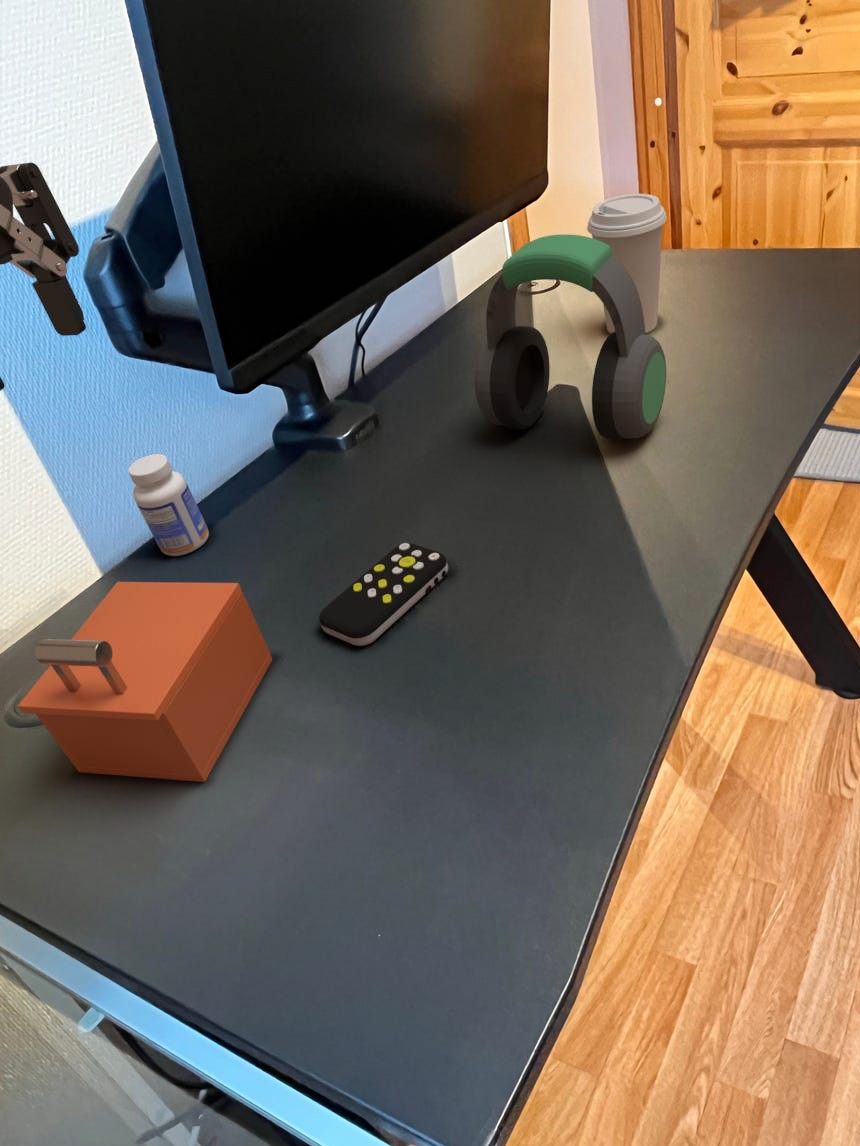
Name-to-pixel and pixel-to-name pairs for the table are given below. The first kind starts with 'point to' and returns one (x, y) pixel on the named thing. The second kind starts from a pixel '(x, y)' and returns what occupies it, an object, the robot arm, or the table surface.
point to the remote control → (383, 594)
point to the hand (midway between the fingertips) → (33, 361)
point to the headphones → (520, 356)
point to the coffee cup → (633, 244)
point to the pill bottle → (167, 506)
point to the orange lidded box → (177, 713)
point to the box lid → (130, 651)
